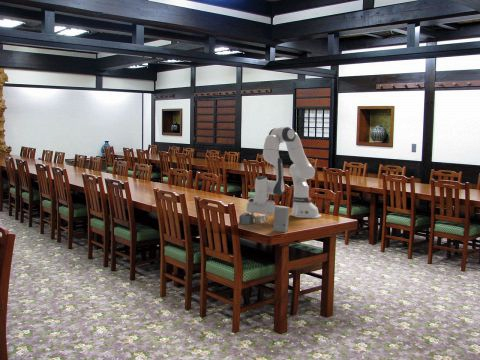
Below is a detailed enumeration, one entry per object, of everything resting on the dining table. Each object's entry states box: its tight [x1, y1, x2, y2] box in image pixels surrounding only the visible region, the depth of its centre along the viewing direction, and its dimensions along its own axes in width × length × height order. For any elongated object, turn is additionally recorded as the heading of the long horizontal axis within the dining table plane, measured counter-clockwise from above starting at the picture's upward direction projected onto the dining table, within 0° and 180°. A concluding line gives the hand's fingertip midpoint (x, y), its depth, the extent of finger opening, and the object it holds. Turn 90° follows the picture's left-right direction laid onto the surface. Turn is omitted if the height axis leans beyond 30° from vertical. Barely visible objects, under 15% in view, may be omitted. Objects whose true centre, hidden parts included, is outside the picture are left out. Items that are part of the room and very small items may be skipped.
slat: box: [254, 213, 267, 225], centre depth 352 cm, size 14×4×4 cm, turn 159°
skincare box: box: [272, 205, 290, 233], centre depth 323 cm, size 8×7×16 cm
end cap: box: [238, 212, 255, 225], centre depth 346 cm, size 7×9×6 cm
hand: (260, 219), depth 352 cm, fingers open, 8 cm apart
